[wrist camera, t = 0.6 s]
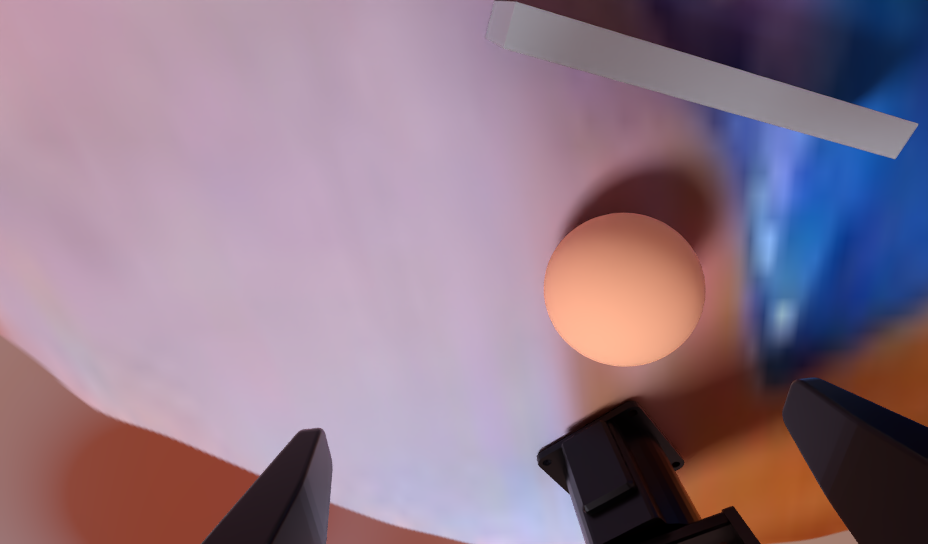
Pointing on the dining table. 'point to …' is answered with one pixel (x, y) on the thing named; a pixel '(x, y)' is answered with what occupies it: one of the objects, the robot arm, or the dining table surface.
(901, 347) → the dining table surface
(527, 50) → the rail
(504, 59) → the dining table surface
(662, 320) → the ball
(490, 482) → the dining table surface
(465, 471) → the dining table surface
